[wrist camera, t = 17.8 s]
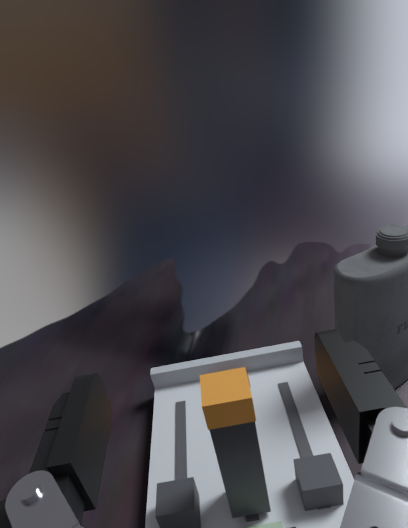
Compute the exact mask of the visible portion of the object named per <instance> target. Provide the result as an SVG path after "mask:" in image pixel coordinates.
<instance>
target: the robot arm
mask: <svg viewBox="0 0 408 528" xmlns="http://www.w3.org/2000/svg"><path fill="white" fill-rule="evenodd" d="M315 353H316V367H317V372H318V376H319V379H320V382H321V384H322V386H323V388H324V390H325V393H326V395H327V397H328V399H329V401H330V403H331V406H332V408H333V410H334V412H335V414H336V416H337V419H338V421H339V423H340V425H341V427H342V429H343V432H344V434H345V436H346V438H347V440H348V442H349V445H350V447H351V449H352V451H353V453H354V455H355V458H356V460H357V462H358V464H360V463H363V466H362V469H361V472H360V473H359V472H358V473H357V475H356V477H355V480H354V483H353V486H352V490H351V493H350V496H349V499H348V503H347V506H346V509H345V512H344V516H343V519H342V522H341V526H340V528H408V408H407V407H406V406H405V405H404V403H403V402H402V400H401V399H400V397H399V396H398V394H397V393H396V391H395V390H394V388H393V387H392V385H391V384H390V383H389V381H388V380H387V378H386V377H385V375H384V374H383V372H381V369H380V368H379V366H378V365H377V363H375V361H374V359H373V357H372V356H371V354H370V353H369V352H368V350H367V349H366V348H364V347H363V346H362V345H360V344H359V343H357V342H356V341H350V342H344V340H343V338H342V337H341V335H340V333H339V332H338V331H337V330H336V329H334V330H328V331H323V332H318V333H315ZM111 420H112V408H111V403H110V400H109V398H108V395H107V393H106V391H105V388H104V386H103V383H102V381H101V379H100V376H99V375H98V373H92V374H87V375H82V376H77V377H75V379H74V381H73V384H72V388H71V391H70V392H69V393H64V394H62V395H61V397H60V398H59V399H58V401H57V402H56V403H55V404H54V406H53V408H52V411H51V414H50V417H49V422H47V425H46V428H45V432H44V433H43V436H42V439H41V442H40V445H39V447H38V450H37V453H36V456H35V459H34V462H33V464H32V467H31V470H30V473H29V474H28V475H26V476H24V477H23V478H22V479H20V480H19V481H18V482H17V483H16V484H15V485H14V487H13V488H12V489H11V491H10V492H9V494H8V496H7V498H6V499H5V500H3V501H1V502H0V528H83V526H82V525H81V522H82V517H83V512H84V511H88V510H94V509H96V505H97V499H98V493H99V488H100V482H101V476H102V471H103V465H104V459H105V454H106V448H107V443H108V437H109V431H110V426H111ZM290 528H296V527H290Z"/></svg>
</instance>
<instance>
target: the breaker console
mask: <svg viewBox="0 0 408 528" xmlns="http://www.w3.org/2000/svg"><path fill="white" fill-rule="evenodd" d="M242 367H245V368H246V372H247V377H248V381H249V386H250V390H251V395H252V399H253V405H254V411H255V417H256V421H255V425H256V430H257V436H258V442H259V447H260V453H261V458H262V464H263V470H264V475H265V481H266V487H267V492H268V498H269V504H270V509H271V512H266V513H260V514H254V515H248V516H243V517H237V518H232V514H231V510H230V507H229V503H228V499H227V495H226V491H225V487H224V484H223V480H222V476H221V472H220V468H219V464H218V461H217V457H216V453H215V449H214V445H213V441H212V438H211V434H210V430H208V428H207V425H206V421H205V417H204V413H203V409H202V402H201V388H200V375H204V374H209V373H214V372H220V371H225V370H231V369H236V368H242ZM150 375H151V378H152V381H153V384H154V387H155V396H154V410H153V424H152V438H151V452H150V466H149V480H148V494H147V508H146V522H145V528H290V527H296V528H340V526H341V522H342V519H343V516H344V512H345V509H346V506H347V503H348V499H349V496H350V493H351V490H352V486H353V483H354V479H353V476H352V474H351V472H350V469H349V467H348V465H347V462H346V460H345V458H344V455H343V453H342V451H341V448H340V446H339V444H338V441H337V439H336V437H335V434H334V432H333V430H332V427H331V425H330V423H329V420H328V418H327V416H326V413H325V411H324V409H323V406H322V404H321V402H320V399H319V397H318V395H317V392H316V390H315V388H314V385H313V383H312V381H311V378H310V376H309V374H308V371H307V369H306V367H305V364H304V362H303V353H302V346H301V343H300V341H296V342H290V343H285V344H279V345H274V346H269V347H263V348H258V349H252V350H247V351H242V352H236V353H231V354H225V355H220V356H215V357H209V358H204V359H198V360H193V361H188V362H182V363H177V364H172V365H166V366H161V367H155V368H151V374H150Z"/></svg>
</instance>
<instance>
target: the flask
mask: <svg viewBox="0 0 408 528" xmlns="http://www.w3.org/2000/svg"><path fill="white" fill-rule="evenodd" d="M334 302H335V329H336V330H337V331H338V332H339V333H340V335H341V337H342V338H343V340H344V342H350V341H356V342H357V343H359V344H360V345H362V346H363V347H364V348H366V349H367V350H368V352H369V353H370V354H371V356H372V357H373V359H374V361H375V363H377V365H378V366H379V368H380V369H381V372H383V374H384V375H385V377H386V378H387V380H388V381H389V383H390V384H391V385H392V387H393V388H394V389H395V388H397V387H398V386H400V385H401V384H402V383H404V382H405V381H406V380H407V379H408V226H405V227H404V226H400V225H389V226H385V227H383V228H381V229H380V230H378V231H377V232H376V245H375V246H373V247H372V248H370V249H368V250H366V251H364V252H362V253H359V254H357V255H354V256H352V257H349V258H347V259H344V260H342V261H340V262H339V263H338V264H336V265H335V266H334Z"/></svg>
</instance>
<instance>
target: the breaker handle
mask: <svg viewBox="0 0 408 528" xmlns="http://www.w3.org/2000/svg"><path fill="white" fill-rule="evenodd" d="M200 388H201V402H202V409H203V413H204V417H205V421H206V425H207V428H208V430H210V434H211V438H212V441H213V445H214V449H215V453H216V457H217V461H218V464H219V468H220V472H221V476H222V480H223V484H224V487H225V491H226V495H227V499H228V503H229V507H230V510H231V514H232V518H237V517H243V516H248V515H254V514H260V513H266V512H271V509H270V504H269V498H268V492H267V487H266V481H265V475H264V470H263V464H262V458H261V453H260V447H259V442H258V436H257V430H256V425H255V421H256V417H255V411H254V405H253V399H252V395H251V390H250V386H249V381H248V377H247V372H246V368H245V367H242V368H236V369H231V370H225V371H220V372H214V373H209V374H204V375H200Z"/></svg>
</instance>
